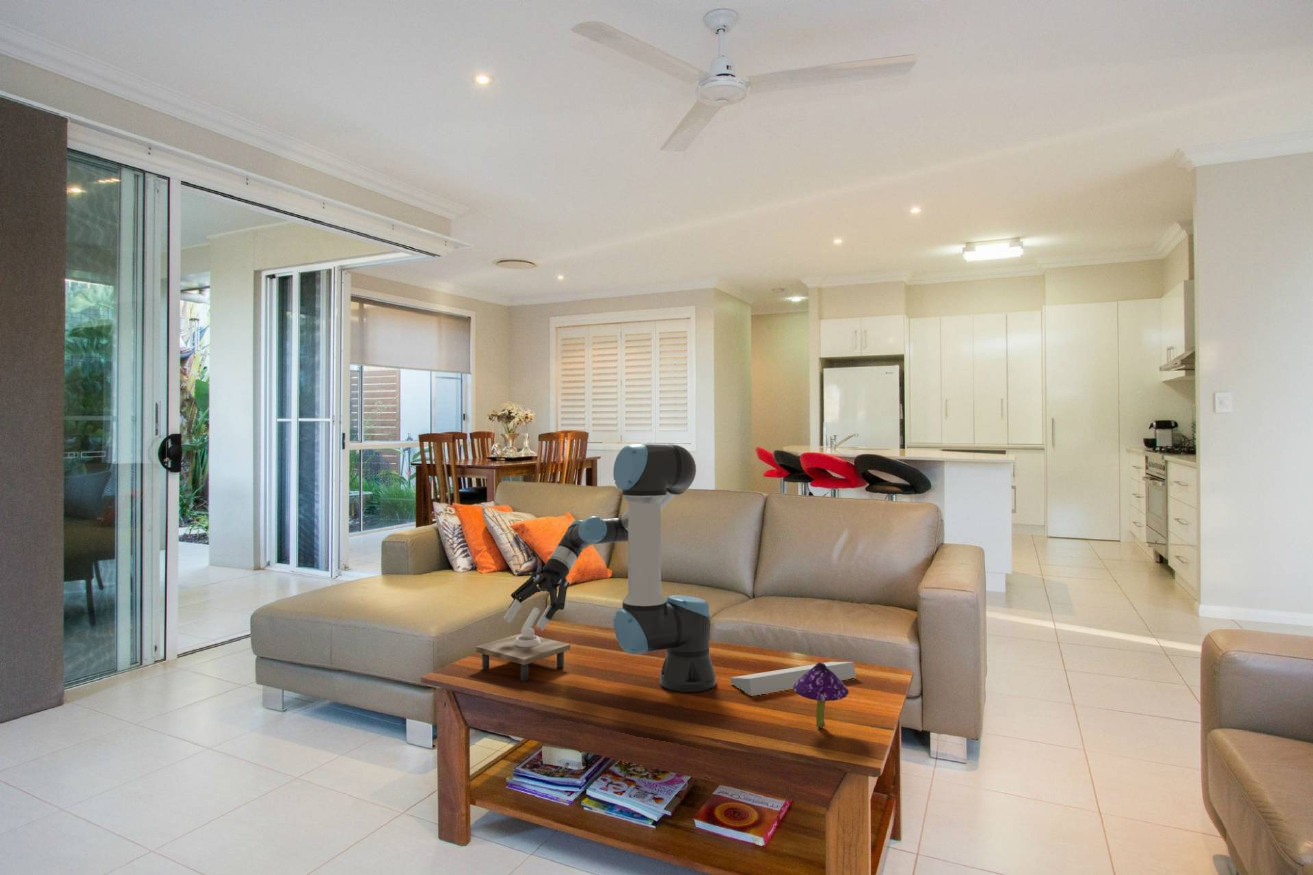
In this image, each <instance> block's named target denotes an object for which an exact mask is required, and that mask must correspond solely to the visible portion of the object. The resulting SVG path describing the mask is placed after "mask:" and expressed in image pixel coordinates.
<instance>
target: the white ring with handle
mask: <svg viewBox="0 0 1313 875" xmlns="http://www.w3.org/2000/svg"><path fill="white" fill-rule="evenodd" d="M540 611H541V610H540V609H539V608H538V607H537V606H535V607H533V608H532V610H531V611H530V614H529V615H528V617H527V619H526V620H525V622H524V624H523V625H522V627H521V630H520V634H522V636H519V637H517V638H516V640H515V642H514V645H516V646H519V647H532V646H537V645H539V644H540V643H541V641H540V639H539V637H540V636H538V635H535V632H536V631H535V629H534V628H533V625H534V623H535V621H536V619H538V618H537V617H538V616H539V614H540Z"/></svg>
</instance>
